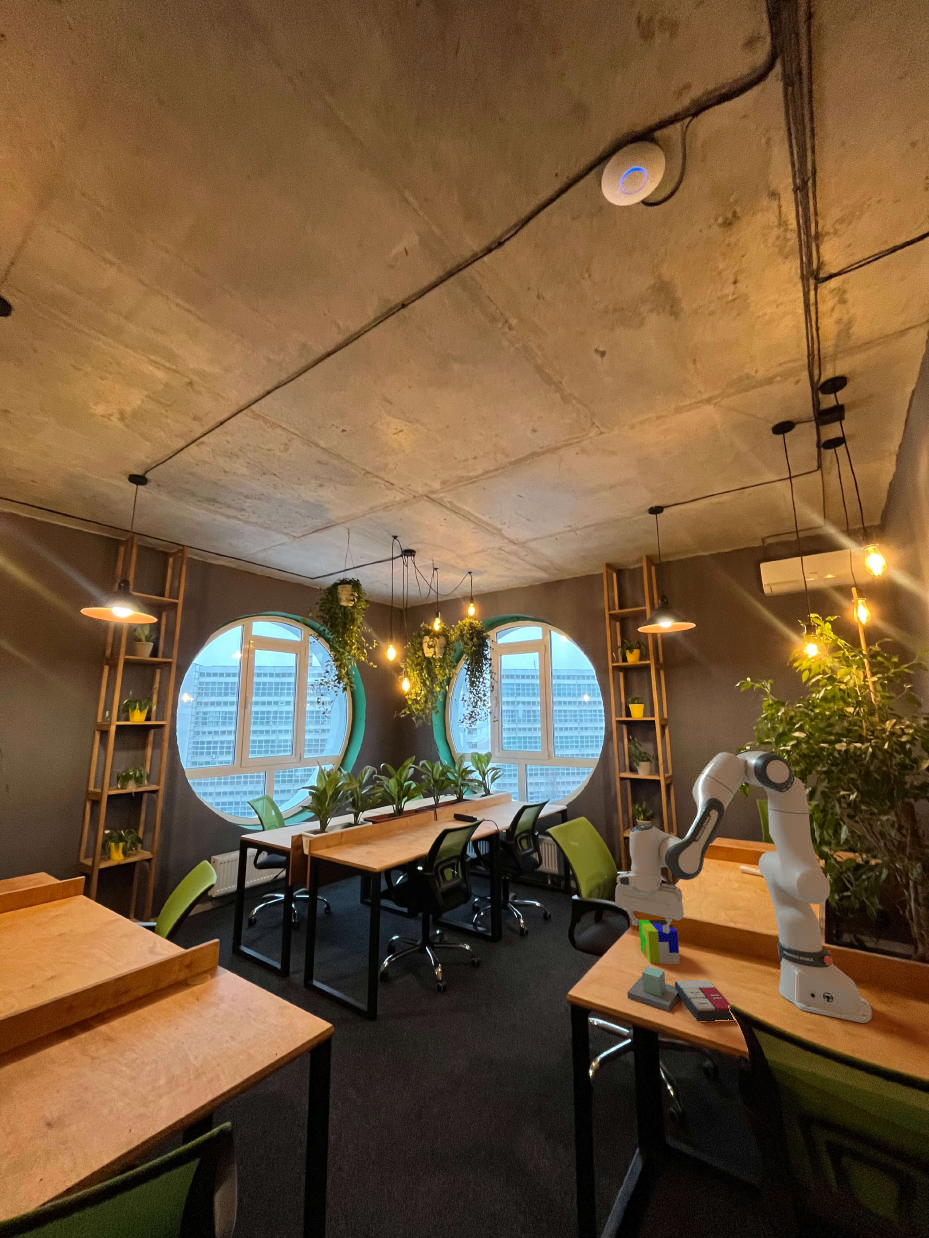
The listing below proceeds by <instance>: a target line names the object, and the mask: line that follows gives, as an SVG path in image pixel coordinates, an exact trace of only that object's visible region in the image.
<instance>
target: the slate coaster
mask: <svg viewBox="0 0 929 1238" xmlns="http://www.w3.org/2000/svg"><path fill="white" fill-rule="evenodd" d="M665 988H666V990H665V991H664V992H663V994H662V995H661V996H657V995H654V994H651V993H648V992H645V991H643V978H642V976H640V977H639V978H638V979H637V981H636V982H635V983H634V984H633V985H632V986H631V987H630V989H629V990H628V991H627V999H630V1000H633V1001H636V1002H640V1003H642V1004H645V1005H648V1006H651V1007H655V1008H657V1009H661V1010H662V1011H666V1012H670V1011H671V1009H672V1008H673V1006H674V1005H675V1004H676V1003H677V1000H678V999H679V995H678V991H677V990H676V989H675V985H671V984H668V983H665Z"/></svg>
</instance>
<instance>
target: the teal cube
mask: <svg viewBox="0 0 929 1238" xmlns="http://www.w3.org/2000/svg"><path fill="white" fill-rule="evenodd" d="M641 973H642V974H641V975H642V978H643V991H645V992H648V993H651V994H654V995H657V996H661V995H662V994H663V992H664V991H665V990H666V988H665V984H666V975H665V970H662V969H659V968H655V967H652V966H649V965H647V966H646V968H644V969H643V971H642V972H641Z"/></svg>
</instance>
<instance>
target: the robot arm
mask: <svg viewBox="0 0 929 1238" xmlns="http://www.w3.org/2000/svg"><path fill="white" fill-rule="evenodd" d="M743 784H749V785H753V786H755V787H760V788H762V787H763V789H764V790H765V792H766V796H767V813H768V814H767V815H768V817H767V818H768V832H769V836H770V838H771V839H772V841H773V843H774V846H775V849H776V850H770V851H766V852H764V853H763V854H762V855H761V856H760V858H759V860H758V869H759V871H760V874H761V875H762V876H763V878H764V881H765V884H766V887H767V889H768V893H769V896H770V898H771V902H772V905H773V909H774V913H775V918H776V927H777V935H778V936H777V937H778V940H777V952H778V957H779V961H780V976H779V977H780V979H779V983H778V984H779V985H778V988H777V989H778V993H779V994H780V995H781V997H783V998H785V999H786V1000H788V1001H789V1002H791V1003H792V1004H794V1005H795V1006H796V1007H797V1008H798V1009H799V1010H801V1011H805V1012H808V1013H813V1014H818V1015H823V1016H828V1017H832V1018H838V1019H842V1020H847V1021H851V1022H855V1023H856V1022H857V1023H861V1024H866V1023H869V1022H870V1021H871V1020H872V1018H873V1011H872V1007H871V1005H870V1003H869V1002H868V1001H867V1000H866V999H864V998H863V997H861V995H860V991H859V989H858V987H857V985H856V983H855V982H854V980H853V979H852V978H851V977H849V976H848V975H846V973H844V972H843V971H842V970H841V969H840V968H838V967H837V966H836V965H835V964H833V959H832V953H831V951H830V949H828V950H827V949H825V947H823V944H822V937H821V928H820V922H819V918H818V916H817V914H816V913H815V911H814V910H813V907H812V906H811V905H812V904H813V905H819V904H822V903H824V902H826V901H827V900H828V898H829V896H830V892H831V886H830V883H829V880H828V878H827V877H826V876H825V874H824V873H823V870H822V869H821V866H820V863H819V861H818V857H817V856H816V852H815V849H814V845H813V842H812V841H813V840H812V834H811V823H810V822H811V821H810V813H809V812H810V811H809V810H810V809H809V804H808V802H809V801H808V797H807V792H806V789H805V784H804V783H803V781H802V780H801V779H799V778H798V777H797V776H795V775H794V773H793V771H792V767H791V766H790V764H789V762H788V761H787V760H786V759H785V758H784V757H783V756H781V755H779V754H776V753H774V752H773V753H772V752H766V751H761V750H754V751H751V750H743V751H740V752H738V753H736V754H733V753H731V752H727V751H723V752H718V753H717V754H716V755H715V756H714V757H712V759H711V760H710V761H708V764H707V765H706V766H704V769H702V771H701V772H700V774H699V775H698V777H697V779H696V780H695V783H694V785H693V788H692V792H691V793H692V797H693V800H694V802H695V804H696V807H697V813H696V817H695V819H694V820H693V822H692V824H691V826H690V828H689V830H688V832H687V833H686V835H685V837H684V838H683V839H681V838H680V837H678V836H676V835H672V834H670V833H668V832H667V833H666V832H664V831H662V830H660V829H659V828H657V827H656V826H654V825H653V824H650V823H649V824H648V823H647V824H645V823H643V824H638V825H635V826H633V827H632V828H631V829H630V832H629V857H630V859H631V864H630V865H631V866H630V870H629V871H624V872H623V873H621V874H618V876H617V877H616V883H617V885H616V887H615V894H614V895H615V897H614V899H615V900H614V901H615V904H616V906H617V907H618V908H622V909H625V910H627V915H629V916H628V917H629V918H630V919H631V925H632V926H633V927H634V926H635V927H638V926H639V917H638V918H637V917H636V915H635V914H634V912H639V913H644V914H649V915H652V916H657V917H661V918H665V919H664V920H665V921H668V922H667V924H666V925H663V926H662V929H663V932H664V933H669V925H670V924H671V923H672V921H673V920H674V921H675V920H676V921H680V920H682V919H683V918H684V916H685V911H684V910H685V909H684V905H683V891H682V889H680V887H677V885H675V884H669V883H664V882H662V871H661V870H662V868H667V869H668V870H669V872H671V874H672V875H673V876H674V877H675V878H678V879H679V880H684V881H691V880H693V879H695V878H697V877H698V876H699V875H700V874H701V872H702V870H703V867H704V860H705V855H706V852H707V850H708V848H709V845H710V844H711V842H712V840H713V838H714V836H715V835H716V833H717V830H718V829H719V827H720V825H721V822H722V821H723V818H724V815H725V812H726V810H727V808H728V806H729V804H730V803H731V801H732V799H733V798H734V796H735V795H736V793H737V791H738V789H739V787H741V786H742V785H743ZM671 925H672V924H671Z"/></svg>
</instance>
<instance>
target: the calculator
mask: <svg viewBox="0 0 929 1238" xmlns="http://www.w3.org/2000/svg"><path fill="white" fill-rule="evenodd" d="M674 986H675V989H676V990H677V991H678V995H679V998H678V999H679V1001H680V1002H681V1003H683V1005H684V1006H685V1007H686V1009H687V1010H688V1011H689V1012H690V1014H691V1015H692V1016H693V1017H694V1019H695V1018H696V1019H695V1020H696V1021H697V1022H698V1021H715V1020H728V1019H729V1020H734V1019H733V1017H732V1015H731V1013H730V1012H729V1008H728V1005H732V1004H731V1003H730V1002H729V1001H728V1000H727V998H726V997H725V996H724V995H723V994H722V993H721V992H720V991H719V990H718V988H717V987H716V986H715V985H714V983H712V982H711V980H707V979H706V980H675V981H674Z"/></svg>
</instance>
